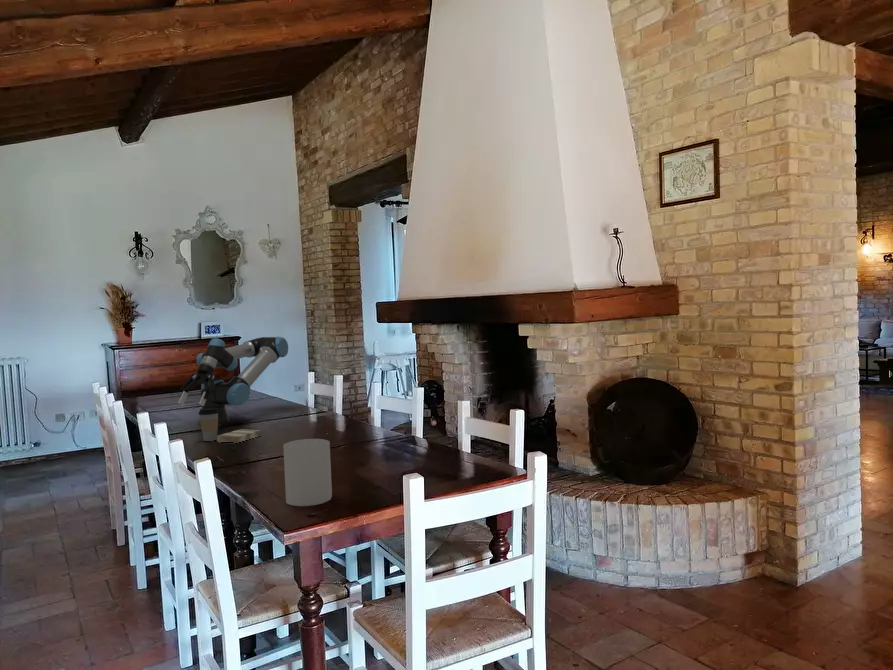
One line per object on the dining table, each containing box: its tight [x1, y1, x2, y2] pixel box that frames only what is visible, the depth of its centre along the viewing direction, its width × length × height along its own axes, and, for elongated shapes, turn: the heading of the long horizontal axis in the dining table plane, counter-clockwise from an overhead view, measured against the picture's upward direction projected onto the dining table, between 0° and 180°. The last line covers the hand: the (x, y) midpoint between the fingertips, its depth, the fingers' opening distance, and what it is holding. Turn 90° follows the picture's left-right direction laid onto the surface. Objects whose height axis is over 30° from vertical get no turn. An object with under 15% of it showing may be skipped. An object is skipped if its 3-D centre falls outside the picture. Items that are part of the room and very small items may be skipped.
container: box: [282, 438, 333, 507], centre depth 206 cm, size 14×14×18 cm
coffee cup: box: [198, 407, 219, 442], centre depth 304 cm, size 9×9×15 cm
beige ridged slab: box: [216, 428, 262, 444], centre depth 304 cm, size 16×12×3 cm
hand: (190, 404), depth 317 cm, fingers open, 13 cm apart
